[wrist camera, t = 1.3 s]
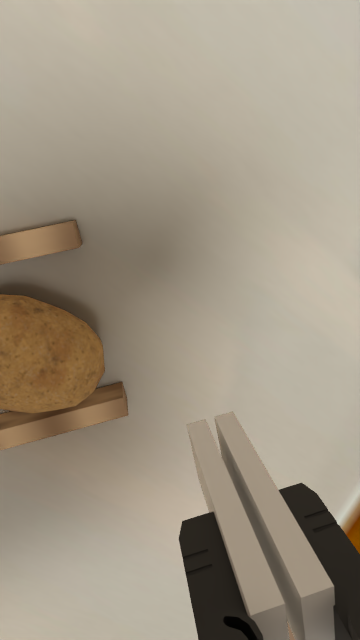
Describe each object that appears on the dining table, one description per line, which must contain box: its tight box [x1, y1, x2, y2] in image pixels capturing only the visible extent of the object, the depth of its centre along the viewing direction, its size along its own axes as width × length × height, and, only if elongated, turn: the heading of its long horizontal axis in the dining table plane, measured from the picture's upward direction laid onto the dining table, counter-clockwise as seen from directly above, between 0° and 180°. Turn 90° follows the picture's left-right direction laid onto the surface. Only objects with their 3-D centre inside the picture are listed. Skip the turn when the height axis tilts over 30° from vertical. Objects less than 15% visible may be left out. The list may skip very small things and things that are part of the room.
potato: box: [0, 294, 105, 413], centre depth 28 cm, size 10×14×8 cm
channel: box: [0, 220, 128, 450], centre depth 30 cm, size 14×18×3 cm
